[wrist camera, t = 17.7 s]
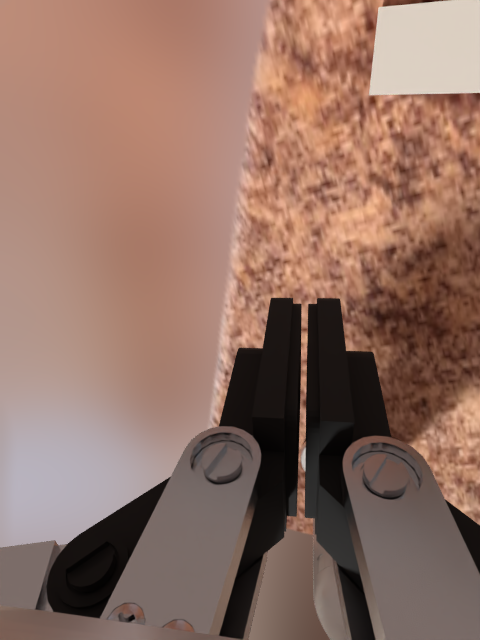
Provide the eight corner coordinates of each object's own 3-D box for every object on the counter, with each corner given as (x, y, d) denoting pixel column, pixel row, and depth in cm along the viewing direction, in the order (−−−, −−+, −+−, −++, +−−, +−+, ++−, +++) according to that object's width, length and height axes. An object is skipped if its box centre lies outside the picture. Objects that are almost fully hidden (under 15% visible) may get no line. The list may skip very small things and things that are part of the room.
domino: (381, 8, 27) (558, -8, 24) (372, 93, 30) (529, 89, 26) (378, 7, 26) (564, -11, 23) (369, 95, 29) (533, 91, 25)
